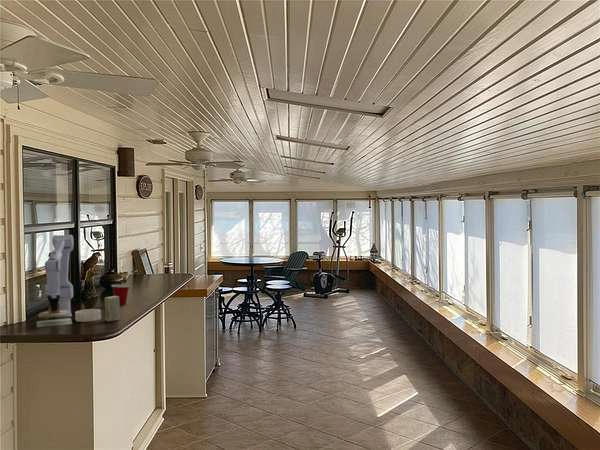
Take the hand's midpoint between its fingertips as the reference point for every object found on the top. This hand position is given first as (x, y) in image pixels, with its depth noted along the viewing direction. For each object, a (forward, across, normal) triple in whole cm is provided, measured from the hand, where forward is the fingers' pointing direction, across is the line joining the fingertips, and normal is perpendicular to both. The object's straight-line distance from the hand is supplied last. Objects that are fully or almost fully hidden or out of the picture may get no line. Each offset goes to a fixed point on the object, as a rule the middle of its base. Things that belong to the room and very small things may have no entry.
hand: (54, 310), depth 266 cm
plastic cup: (+7, -40, +38) cm, 56 cm away
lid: (+2, 0, 0) cm, 2 cm away
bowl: (+6, 0, +16) cm, 17 cm away
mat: (+6, 0, 0) cm, 7 cm away
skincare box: (+7, +8, +27) cm, 29 cm away
